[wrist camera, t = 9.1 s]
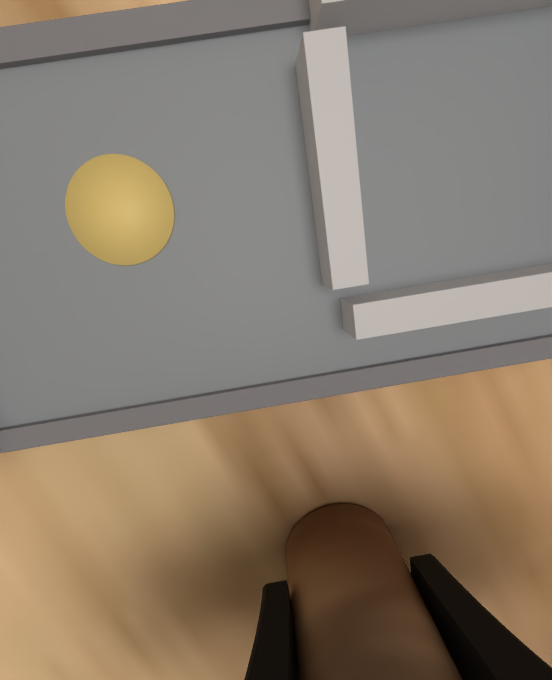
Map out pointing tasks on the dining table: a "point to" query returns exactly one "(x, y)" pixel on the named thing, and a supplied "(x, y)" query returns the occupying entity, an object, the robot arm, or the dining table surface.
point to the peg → (358, 603)
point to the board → (267, 206)
